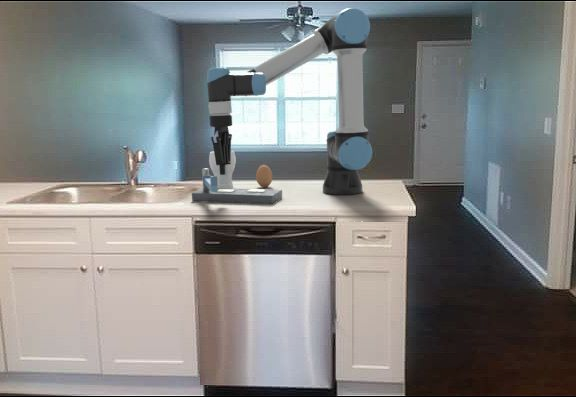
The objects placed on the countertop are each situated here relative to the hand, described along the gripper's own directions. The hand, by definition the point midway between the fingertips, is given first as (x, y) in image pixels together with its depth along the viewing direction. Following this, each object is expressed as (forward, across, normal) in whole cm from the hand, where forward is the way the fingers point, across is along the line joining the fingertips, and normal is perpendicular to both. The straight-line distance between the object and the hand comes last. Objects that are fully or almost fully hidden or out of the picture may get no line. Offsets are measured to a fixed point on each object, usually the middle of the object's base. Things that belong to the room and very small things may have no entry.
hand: (224, 183), depth 194 cm
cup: (+7, -29, -13) cm, 32 cm away
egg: (+8, -36, +2) cm, 37 cm away
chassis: (+7, -8, +1) cm, 11 cm away
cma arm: (+2, +3, -4) cm, 5 cm away
